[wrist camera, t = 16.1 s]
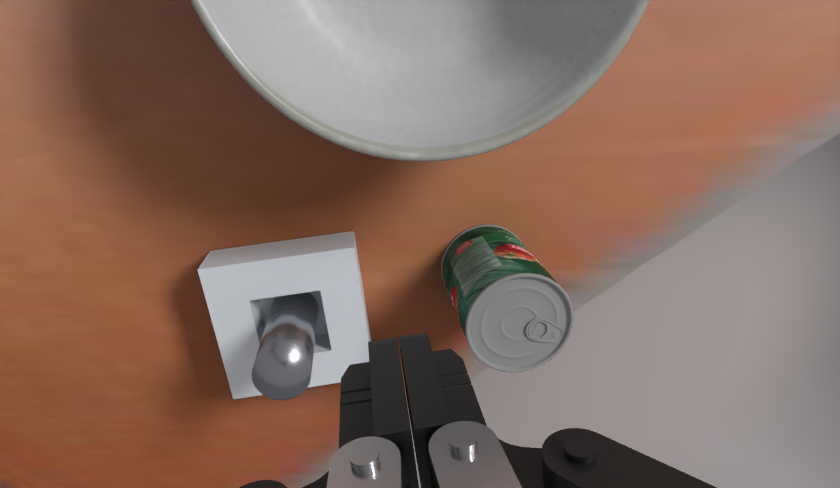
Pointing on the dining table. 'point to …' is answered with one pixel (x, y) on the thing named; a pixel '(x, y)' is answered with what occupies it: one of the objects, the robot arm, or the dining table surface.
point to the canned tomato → (505, 299)
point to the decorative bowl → (421, 66)
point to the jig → (278, 276)
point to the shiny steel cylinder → (287, 347)
